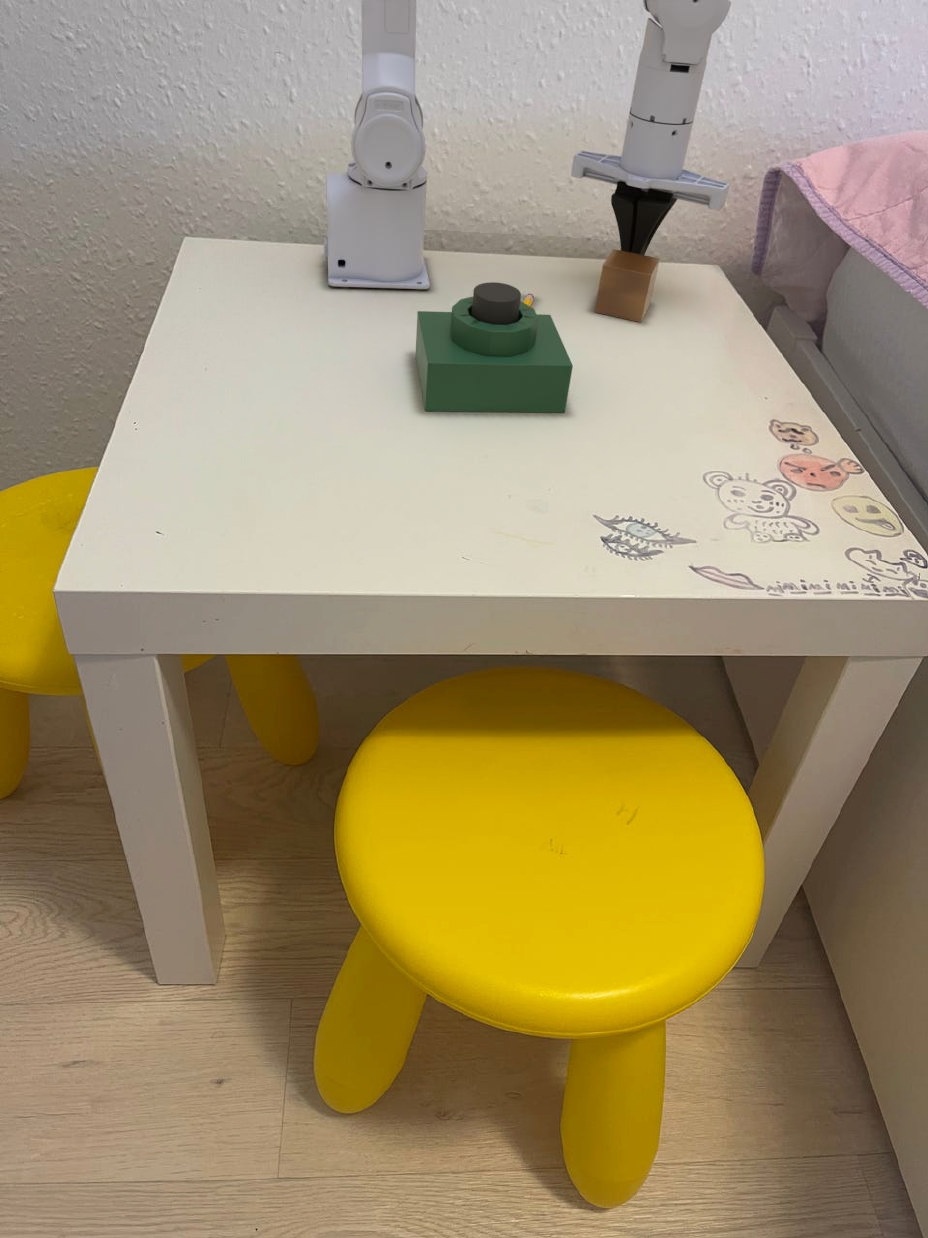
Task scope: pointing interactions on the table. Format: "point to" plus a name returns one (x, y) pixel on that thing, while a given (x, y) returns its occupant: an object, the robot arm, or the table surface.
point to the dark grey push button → (496, 303)
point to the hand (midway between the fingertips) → (630, 268)
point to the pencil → (529, 299)
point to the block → (626, 285)
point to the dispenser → (491, 362)
